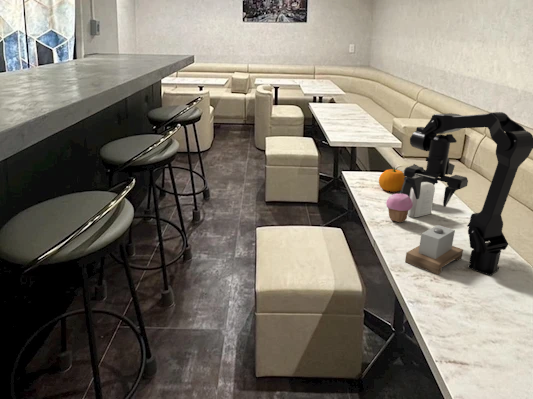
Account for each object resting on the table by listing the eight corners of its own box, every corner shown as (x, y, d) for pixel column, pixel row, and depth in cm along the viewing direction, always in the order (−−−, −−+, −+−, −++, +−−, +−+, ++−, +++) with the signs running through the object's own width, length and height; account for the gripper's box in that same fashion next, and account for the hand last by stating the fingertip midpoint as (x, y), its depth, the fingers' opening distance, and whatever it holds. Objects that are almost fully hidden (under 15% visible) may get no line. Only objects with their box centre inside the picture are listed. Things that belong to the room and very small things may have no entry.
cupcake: (413, 220, 167) (417, 193, 164) (405, 227, 160) (409, 199, 157) (389, 214, 172) (392, 188, 168) (380, 221, 165) (383, 194, 162)
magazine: (391, 194, 189) (412, 163, 184) (420, 209, 189) (441, 179, 184) (392, 197, 186) (414, 165, 180) (421, 213, 186) (443, 181, 181)
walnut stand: (461, 258, 138) (463, 249, 137) (437, 274, 128) (439, 264, 127) (430, 247, 145) (431, 238, 144) (405, 262, 135) (406, 252, 134)
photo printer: (423, 210, 177) (428, 179, 173) (432, 214, 174) (437, 182, 170) (404, 215, 172) (409, 183, 168) (414, 219, 168) (419, 186, 164)
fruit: (376, 191, 197) (379, 169, 194) (379, 184, 208) (381, 162, 204) (405, 195, 194) (408, 172, 190) (406, 187, 204) (409, 165, 201)
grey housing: (435, 258, 131) (439, 237, 128) (418, 252, 134) (421, 231, 132) (451, 249, 137) (455, 228, 135) (434, 243, 141) (438, 223, 139)
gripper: (479, 156, 143) (470, 205, 148) (423, 145, 155) (416, 190, 160) (463, 162, 135) (454, 212, 140) (405, 150, 148) (399, 197, 153)
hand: (430, 202), depth 149 cm, fingers open, 9 cm apart
